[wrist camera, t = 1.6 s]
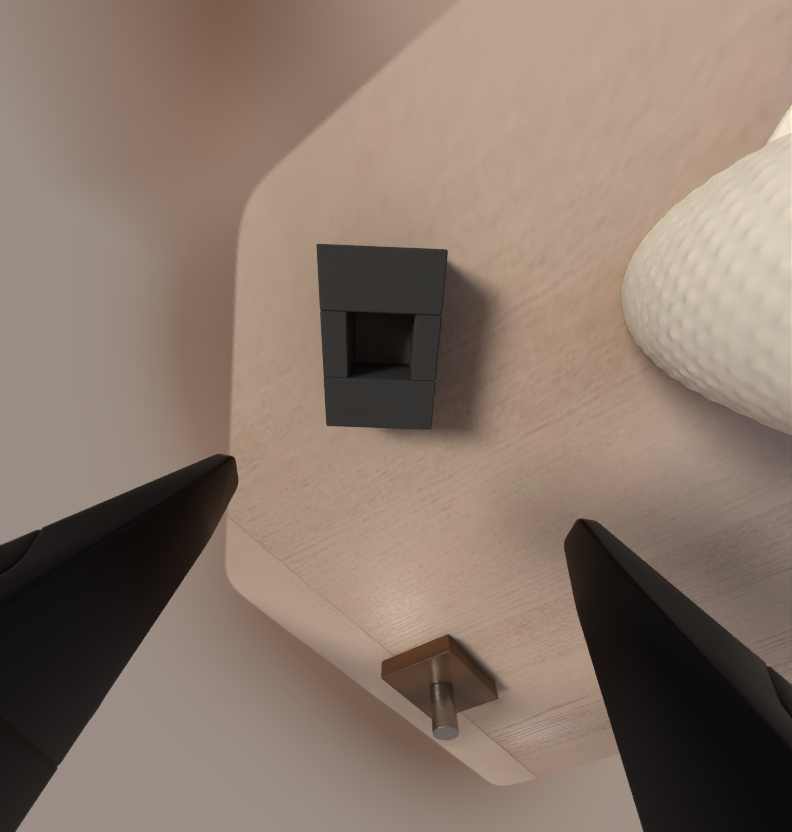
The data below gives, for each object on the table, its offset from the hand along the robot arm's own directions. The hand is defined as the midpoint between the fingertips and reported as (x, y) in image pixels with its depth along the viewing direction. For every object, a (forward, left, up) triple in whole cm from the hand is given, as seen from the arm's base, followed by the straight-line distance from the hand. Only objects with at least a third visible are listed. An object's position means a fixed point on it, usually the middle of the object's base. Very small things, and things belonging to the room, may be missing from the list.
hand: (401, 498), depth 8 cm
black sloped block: (-1, +2, -13) cm, 13 cm away
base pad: (+6, -33, -13) cm, 36 cm away
